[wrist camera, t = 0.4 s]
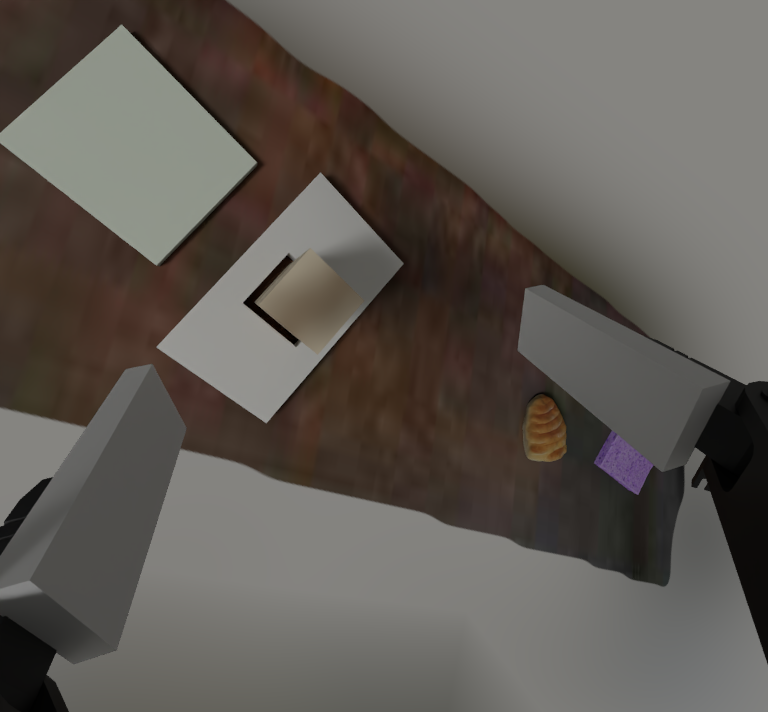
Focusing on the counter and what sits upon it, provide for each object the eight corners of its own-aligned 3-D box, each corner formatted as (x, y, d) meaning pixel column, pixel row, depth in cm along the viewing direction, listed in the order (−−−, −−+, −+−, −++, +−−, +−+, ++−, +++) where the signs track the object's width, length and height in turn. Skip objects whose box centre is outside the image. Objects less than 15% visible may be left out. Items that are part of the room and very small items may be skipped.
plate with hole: (161, 344, 33) (156, 347, 31) (316, 179, 35) (320, 172, 34) (265, 416, 37) (266, 423, 35) (396, 265, 40) (403, 263, 38)
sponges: (610, 425, 58) (622, 429, 57) (647, 456, 63) (658, 461, 61) (589, 461, 58) (600, 466, 56) (628, 490, 63) (638, 495, 61)
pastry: (514, 401, 50) (534, 409, 46) (550, 386, 52) (572, 392, 48) (522, 459, 52) (542, 471, 48) (556, 442, 54) (578, 452, 50)
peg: (254, 302, 35) (258, 305, 22) (287, 265, 36) (310, 247, 23) (293, 334, 37) (317, 354, 24) (324, 299, 38) (364, 300, 25)
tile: (2, 143, 27) (-6, 138, 26) (125, 33, 29) (121, 24, 28) (159, 266, 32) (156, 265, 31) (256, 166, 33) (257, 162, 32)
